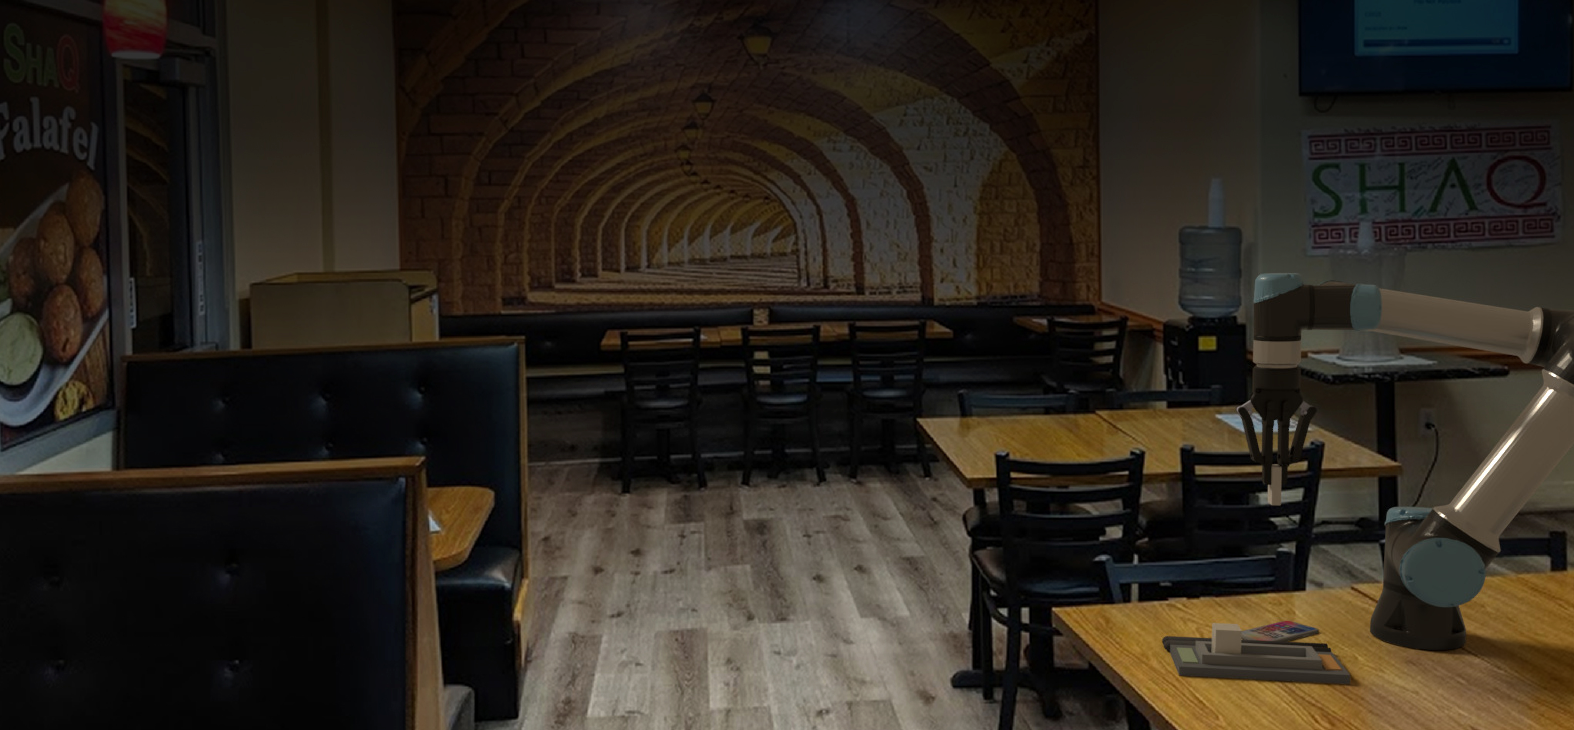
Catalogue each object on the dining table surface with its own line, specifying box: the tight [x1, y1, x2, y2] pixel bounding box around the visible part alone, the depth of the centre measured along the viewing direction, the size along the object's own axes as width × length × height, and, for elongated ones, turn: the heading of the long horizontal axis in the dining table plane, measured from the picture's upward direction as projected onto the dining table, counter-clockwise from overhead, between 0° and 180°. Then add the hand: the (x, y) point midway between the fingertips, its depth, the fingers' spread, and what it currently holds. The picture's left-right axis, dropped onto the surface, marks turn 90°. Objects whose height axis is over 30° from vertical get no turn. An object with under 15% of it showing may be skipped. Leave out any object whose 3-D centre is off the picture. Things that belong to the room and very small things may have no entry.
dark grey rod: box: [1161, 635, 1329, 648], centre depth 217 cm, size 27×2×2 cm, turn 81°
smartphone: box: [1241, 620, 1320, 642], centre depth 226 cm, size 7×1×15 cm
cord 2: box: [1163, 640, 1332, 652], centre depth 215 cm, size 27×2×2 cm, turn 81°
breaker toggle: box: [1211, 622, 1243, 654], centre depth 208 cm, size 4×4×5 cm
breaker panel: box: [1169, 641, 1351, 685], centre depth 208 cm, size 26×11×3 cm, turn 81°
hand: (1274, 503), depth 216 cm, fingers closed
